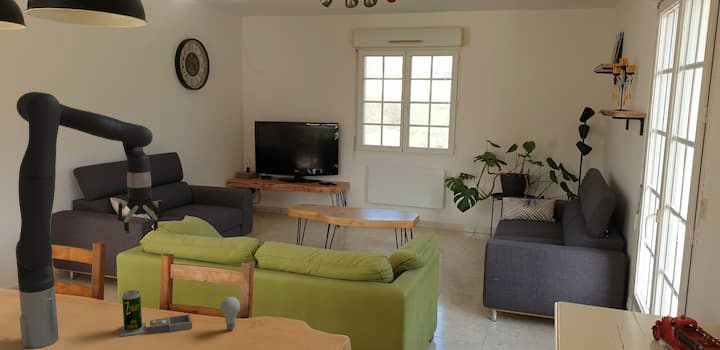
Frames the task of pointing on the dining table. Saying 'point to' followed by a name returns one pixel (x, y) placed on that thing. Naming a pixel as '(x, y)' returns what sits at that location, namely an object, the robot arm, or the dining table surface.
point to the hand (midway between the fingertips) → (141, 231)
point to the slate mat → (141, 331)
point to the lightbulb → (230, 311)
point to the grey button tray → (166, 325)
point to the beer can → (132, 311)
